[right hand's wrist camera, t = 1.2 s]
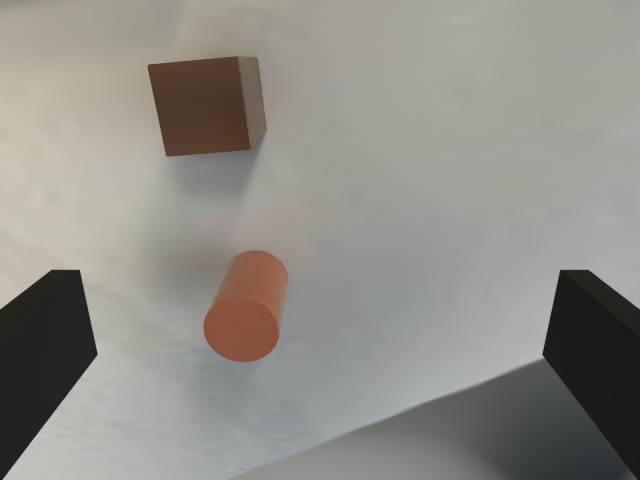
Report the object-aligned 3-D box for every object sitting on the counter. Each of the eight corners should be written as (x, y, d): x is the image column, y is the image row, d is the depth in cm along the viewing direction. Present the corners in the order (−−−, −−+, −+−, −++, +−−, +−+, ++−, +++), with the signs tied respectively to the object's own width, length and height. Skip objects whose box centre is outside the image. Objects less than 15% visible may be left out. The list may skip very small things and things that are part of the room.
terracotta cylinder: (240, 240, 33) (220, 284, 26) (297, 267, 34) (292, 316, 27) (216, 290, 34) (192, 344, 28) (271, 314, 35) (260, 372, 29)
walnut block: (186, 63, 29) (146, 64, 22) (257, 57, 28) (238, 56, 22) (199, 136, 30) (165, 156, 24) (266, 130, 30) (251, 149, 24)
